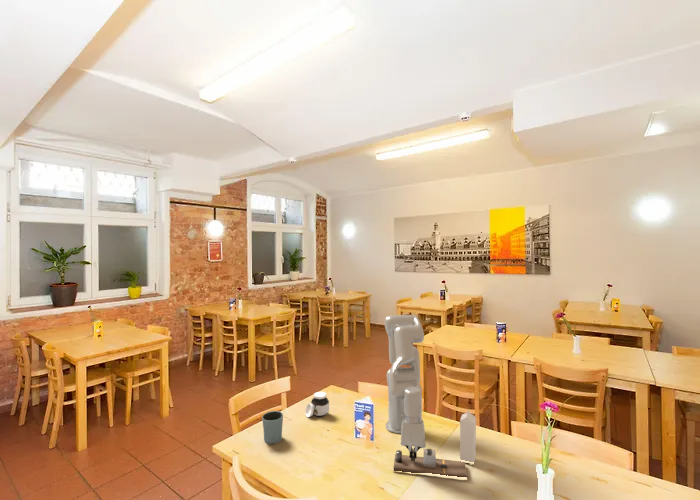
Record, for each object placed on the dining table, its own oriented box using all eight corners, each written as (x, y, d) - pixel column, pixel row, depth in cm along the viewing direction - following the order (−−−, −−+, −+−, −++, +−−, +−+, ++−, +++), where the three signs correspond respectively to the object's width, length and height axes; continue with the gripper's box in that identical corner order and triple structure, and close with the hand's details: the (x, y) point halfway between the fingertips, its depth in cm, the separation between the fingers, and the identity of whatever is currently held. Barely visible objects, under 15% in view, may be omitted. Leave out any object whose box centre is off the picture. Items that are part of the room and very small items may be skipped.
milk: (460, 462, 159) (459, 412, 159) (462, 455, 164) (461, 407, 164) (474, 465, 156) (474, 415, 156) (476, 458, 162) (475, 409, 161)
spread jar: (331, 414, 205) (331, 393, 205) (319, 422, 196) (319, 401, 195) (314, 409, 211) (314, 389, 211) (302, 416, 202) (302, 396, 202)
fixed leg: (396, 459, 158) (396, 450, 158) (402, 459, 157) (402, 450, 157) (396, 462, 156) (396, 453, 155) (401, 463, 155) (401, 453, 155)
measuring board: (395, 458, 162) (395, 453, 162) (464, 466, 156) (464, 461, 156) (393, 472, 152) (393, 467, 152) (467, 481, 146) (467, 476, 146)
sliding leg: (423, 459, 157) (423, 446, 157) (435, 461, 156) (435, 447, 156) (423, 466, 152) (423, 452, 152) (435, 468, 151) (435, 454, 151)
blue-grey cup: (285, 434, 182) (285, 411, 182) (279, 445, 172) (279, 420, 172) (266, 433, 183) (266, 410, 183) (259, 444, 173) (259, 419, 173)
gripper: (395, 419, 153) (395, 462, 153) (430, 423, 150) (430, 466, 150) (396, 411, 160) (396, 452, 160) (430, 414, 157) (430, 456, 157)
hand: (413, 459), depth 155 cm, fingers closed
